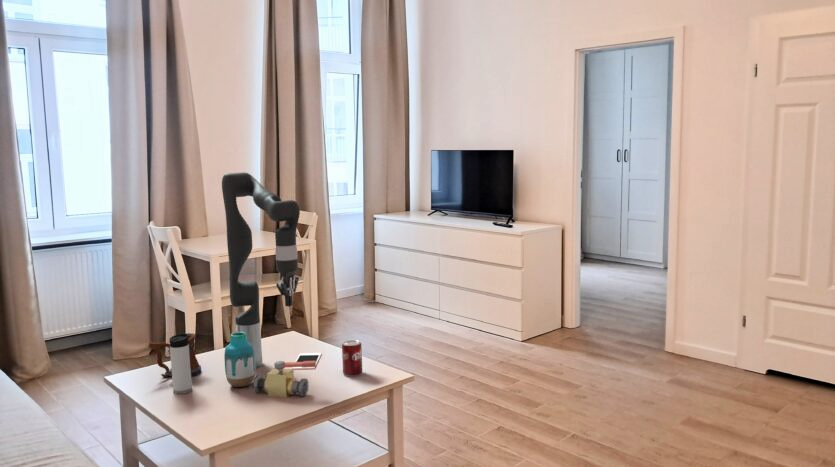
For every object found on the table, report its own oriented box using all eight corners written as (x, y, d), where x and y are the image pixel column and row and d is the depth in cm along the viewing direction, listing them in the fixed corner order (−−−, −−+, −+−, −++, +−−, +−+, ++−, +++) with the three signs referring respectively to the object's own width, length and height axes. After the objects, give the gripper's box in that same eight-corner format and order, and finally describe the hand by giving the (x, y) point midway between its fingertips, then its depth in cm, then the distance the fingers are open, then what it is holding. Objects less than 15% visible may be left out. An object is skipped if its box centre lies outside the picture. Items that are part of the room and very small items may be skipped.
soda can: (364, 370, 250) (363, 339, 249) (360, 377, 243) (359, 345, 241) (345, 370, 251) (344, 339, 249) (341, 377, 244) (339, 345, 242)
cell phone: (321, 354, 271) (321, 352, 271) (314, 370, 253) (314, 367, 253) (300, 355, 271) (300, 353, 271) (291, 370, 253) (291, 368, 253)
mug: (154, 384, 240) (150, 345, 238) (149, 375, 250) (145, 337, 248) (204, 375, 249) (201, 336, 247) (197, 366, 259) (195, 329, 257)
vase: (240, 378, 245) (236, 328, 242) (262, 382, 240) (259, 331, 237) (219, 388, 235) (216, 336, 233) (243, 392, 231) (239, 339, 228)
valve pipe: (253, 394, 229) (252, 369, 227) (262, 388, 234) (261, 363, 233) (301, 399, 224) (299, 373, 222) (308, 392, 229) (307, 367, 228)
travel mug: (196, 387, 236) (192, 333, 233) (184, 394, 230) (180, 339, 227) (181, 386, 238) (177, 332, 235) (169, 392, 232) (165, 337, 229)
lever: (273, 369, 226) (273, 364, 226) (275, 365, 229) (275, 361, 229) (314, 367, 226) (314, 363, 226) (316, 364, 230) (315, 359, 230)
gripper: (287, 261, 224) (290, 311, 226) (304, 254, 236) (307, 301, 239) (267, 260, 226) (270, 310, 228) (285, 254, 238) (288, 300, 241)
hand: (289, 305), depth 233 cm, fingers closed
